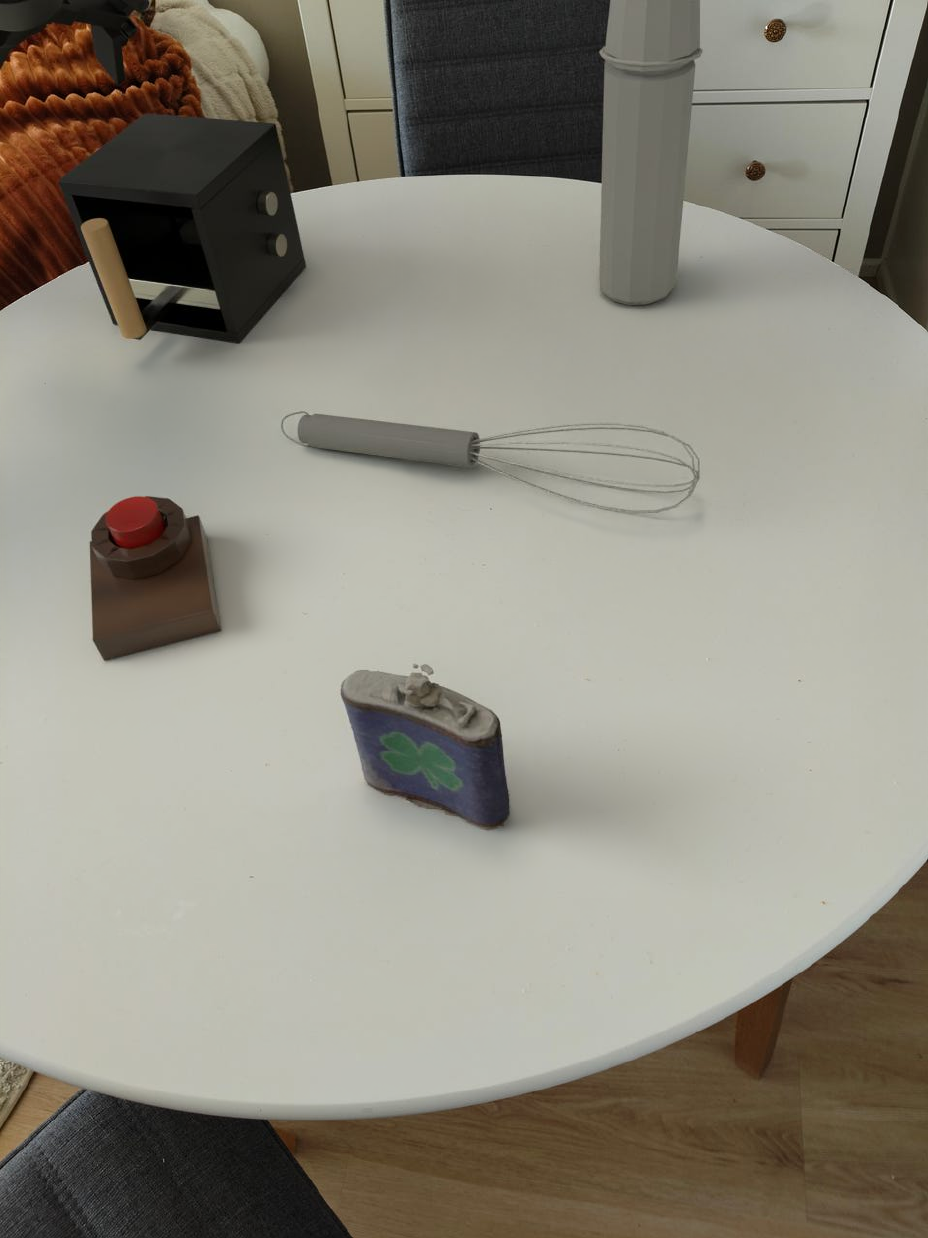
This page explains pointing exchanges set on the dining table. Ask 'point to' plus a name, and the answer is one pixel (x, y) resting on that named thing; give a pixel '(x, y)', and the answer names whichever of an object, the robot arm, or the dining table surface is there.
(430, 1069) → the dining table surface
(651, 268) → the water bottle
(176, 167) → the oven
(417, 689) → the flask
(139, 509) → the button
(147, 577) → the brown boxy piece
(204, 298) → the tray
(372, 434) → the kitchen whisk
